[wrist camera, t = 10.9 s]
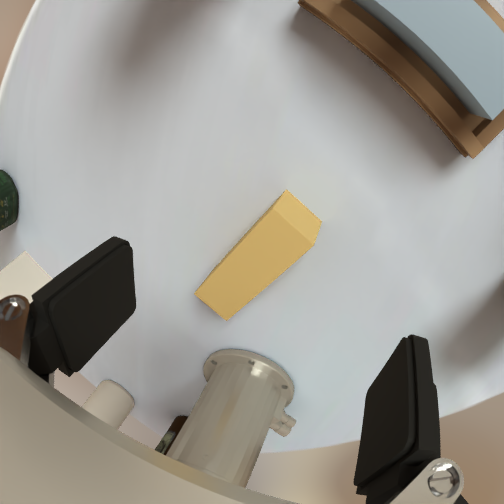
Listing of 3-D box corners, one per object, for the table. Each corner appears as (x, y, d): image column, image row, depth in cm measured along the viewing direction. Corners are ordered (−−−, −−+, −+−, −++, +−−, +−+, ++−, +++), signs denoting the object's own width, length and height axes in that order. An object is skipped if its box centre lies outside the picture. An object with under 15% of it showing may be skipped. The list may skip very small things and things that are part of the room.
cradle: (535, 77, 13) (550, 78, 11) (461, 154, 19) (471, 162, 17) (379, -70, 12) (379, -85, 10) (300, 6, 18) (293, -3, 16)
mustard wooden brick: (322, 220, 26) (313, 245, 23) (242, 293, 33) (226, 320, 30) (287, 188, 26) (272, 208, 22) (213, 268, 33) (193, 293, 29)
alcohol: (141, 401, 57) (67, 509, 33) (129, 407, 62) (62, 502, 38) (108, 374, 56) (27, 479, 32) (99, 382, 61) (27, 475, 37)
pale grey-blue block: (507, 74, 14) (535, 74, 10) (469, 113, 17) (492, 120, 13) (384, -43, 13) (387, -68, 9) (344, -5, 16) (339, -24, 12)
